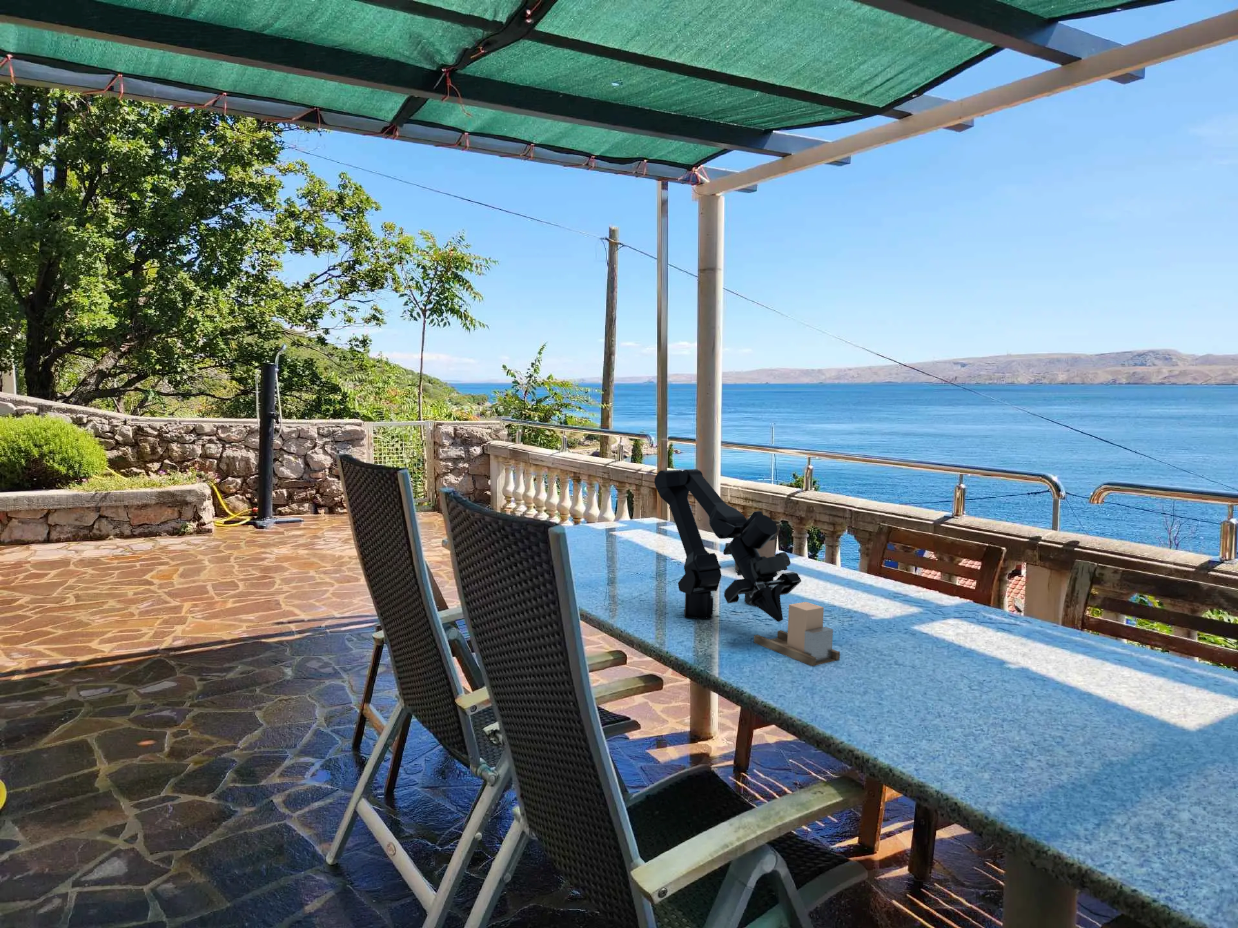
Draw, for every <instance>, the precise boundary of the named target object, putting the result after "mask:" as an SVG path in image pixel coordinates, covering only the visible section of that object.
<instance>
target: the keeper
mask: <svg viewBox="0 0 1238 928" xmlns="http://www.w3.org/2000/svg"><path fill="white" fill-rule="evenodd" d="M824 608H825V607H824V606H820V605H817V604H815V603H814V604H813V603H811V602H808V601H802V602H798V603H797V602H796V603H791V604H788V615H787V616H788V618H787V619H788V620H787V633H788V638H787V646H788V647H790V648H793V649H796V650H798V651H801V652H803V653H804V643H805V631H807V630H812V629H817V628H822V627H824V612H825V611H824V610H825V609H824Z"/></svg>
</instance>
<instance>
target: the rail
mask: <svg viewBox="0 0 1238 928" xmlns="http://www.w3.org/2000/svg"><path fill="white" fill-rule="evenodd" d="M787 638H788V631H784V630H782V629H781V630H777V637H776V638H766V637H765V636H762V635H759V634H755V635H753V643H754V644H756V645H758V646H761V647H764V648H766V649H768V650H772V651H773V652H775V653H779V654H780V655H783V656H786V657H788V658H790V659H792V660H795V661H798V662H800V663H802V664H805V665H808V666H810V667H815V666H819V665H823V664H828V663H832V662H835V661H840V657H841V652H840V651H838V650H835V649H834V648H832V659H828V660H824V661H819V662H816V657H813V656H811V655H808V654H806V653H803V652H801V651H798V650H796V649H793V648H790V647H788V646H787Z"/></svg>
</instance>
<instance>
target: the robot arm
mask: <svg viewBox="0 0 1238 928" xmlns="http://www.w3.org/2000/svg"><path fill="white" fill-rule="evenodd" d="M653 484H654V486H655V489H656V491H657V493H658V495H659V497H660V498H661V499H662V500H663V501H665V502H666V503H667V505H668V506H669V507H670V512H671V515H672V517H673V520H674V523H675V526H676V529H677V533H678V535H679V539H680V541H681V544H682V547H683V550H684V553H685V556H686V558H685V561H684V565H683V570H684V575H683V576H682V577H681V579H680V580H678V582H677V586H678V589H679V592H681V593H683V594H685V595H684V609H683V615H684V618H685V619H706V620H709V619H711V620H712V615H713V614H714V612H713V611H714V596H713V595H712V592H717V591H718V588H719V585H720V581H721V580H722V579H721V578H722V571H721V569H722V566H721V565H720V563H719V560H718V559H719V558H718V556H717V554H716V553H715V552H711V553H710V552H709V551H707V550H706V547H705V545H704V542H703V539H702V536H701V533H700V531H699V527H698V525H697V522H696V519H695V516H694V513H693V511H692V508H691V505H690V503H689V499H688V498H689V493H690V494H691V495H692V496H693V497H694V499H695V500H696V501H697V503H698V504H699V505H700V507H701V508H702V509H703V510H704V511H705V513H706V514H707V516H708V517H709V520H708V521H709V526H710V528H711V530H712V531H713V533H714V535H715V536H716V537H717V538H718V539H720V540H727V539H732V540H731V541H729V542H726V543H725V544H724V545H725V547H724V549H723V552H722V553H723V555H724V556H729V555H731V557H732V558H733V560H734V561H733V562H734V563H735V562H736V564H737V566H738V568H739V570H738V571H736V572H735V573H736V574H737V576H738V577H739V576H742V578H739V579H734V580H733V581H732V582H731V583H730V584H729V586H727V587H726V589H724V594H723V597H724V598H725V601H726V603H727V604H732V603H733V604H734V603H738V602H739V599H740V596H739V595H745V594H746V593H749V594H750V597H751V598H750V599H749V600H748V603H752V604H753V605H755V606H754V607H756V608H758V609H760V610H761V611H763V612H764V613H765V614H767V615H768V616H770V617H771V618H772V619H774V620H775V621H776V622H778V623H779V622H780V623H781V622H782V621H783V619H784V617H783V611H782V603H781V596H783V595H784V596H785V595H787V594H789V593H791V592H792V591H793V590H794V589H795V588H796V587H797V586H799V584H800V583H801V582H802V579H801V577H800V575H799V574H798V573H797V572H794V571H790V572H789V571H788V572H783V573H782V574H781V575H780V576H778V572H781V571H786V570H788V567H789V566H791V559H790V557H789V555H788V554H787V552H786V551H783V552H779V553H776V554H775V556H773V557H768V558H767V557H765V556H763V557H761V556H760V554H759V552H758V551H757V549H761V548H762V547H763V546H764V545H765V544H766V543H767V542H768V541H769V540H770V539H771V538H772V537H773V536H774V535H775V534H776V532H777V525H776V523H775V522H774V521H773V520H774V519H772V518H770V517H769V516H767V515H765V514H764V513H763V512H762V510H755V511H753V512H752V513H751V515H750V517H748V518H749V519H748V520H747V519H746V518H747V517H746V516H745V515H744V514H743V513H742V512H741V511H739V510H738V509H737V508H735V507H733V506H731V505H729V504H727V503H726V502H724V500H723V499H722V498H721V496H720V495H719V494H718V492H716V490H715V489H714V488H713V487H712V486H711V484H710V483H709V482H708V481H707V479H706V478H705V477H704V475H703V473H702V471H701V470H700V469H698V468H693V469H692V468H690V469H683V470H682V469H670V470H669V469H668V470H667V469H665V470H664V469H663V470H660V471H658V472H657V473H656V475H655V476H654V483H653ZM733 538H734V539H733ZM777 576H778V577H777ZM773 577H774V578H776V577H777V578H776V580H775V579H774V580H773V579H772V578H773Z"/></svg>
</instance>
